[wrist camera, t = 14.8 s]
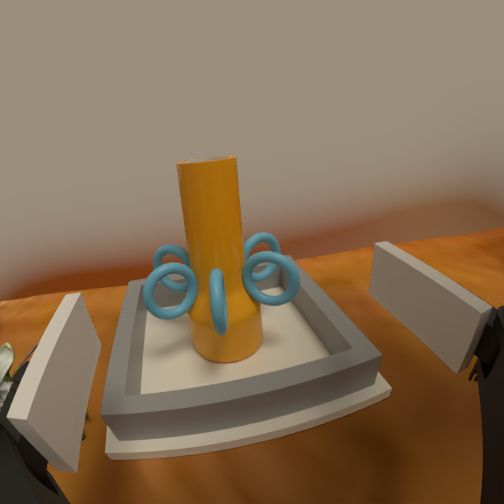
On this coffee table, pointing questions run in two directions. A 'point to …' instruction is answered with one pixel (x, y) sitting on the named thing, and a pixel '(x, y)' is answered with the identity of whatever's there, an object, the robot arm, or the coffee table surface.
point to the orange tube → (218, 265)
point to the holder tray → (233, 375)
